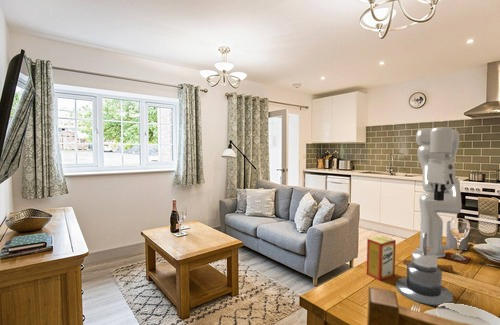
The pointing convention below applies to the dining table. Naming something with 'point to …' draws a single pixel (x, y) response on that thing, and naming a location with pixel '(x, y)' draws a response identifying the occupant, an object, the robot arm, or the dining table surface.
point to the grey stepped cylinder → (424, 287)
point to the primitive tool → (441, 267)
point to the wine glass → (453, 242)
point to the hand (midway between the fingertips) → (438, 200)
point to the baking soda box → (381, 257)
